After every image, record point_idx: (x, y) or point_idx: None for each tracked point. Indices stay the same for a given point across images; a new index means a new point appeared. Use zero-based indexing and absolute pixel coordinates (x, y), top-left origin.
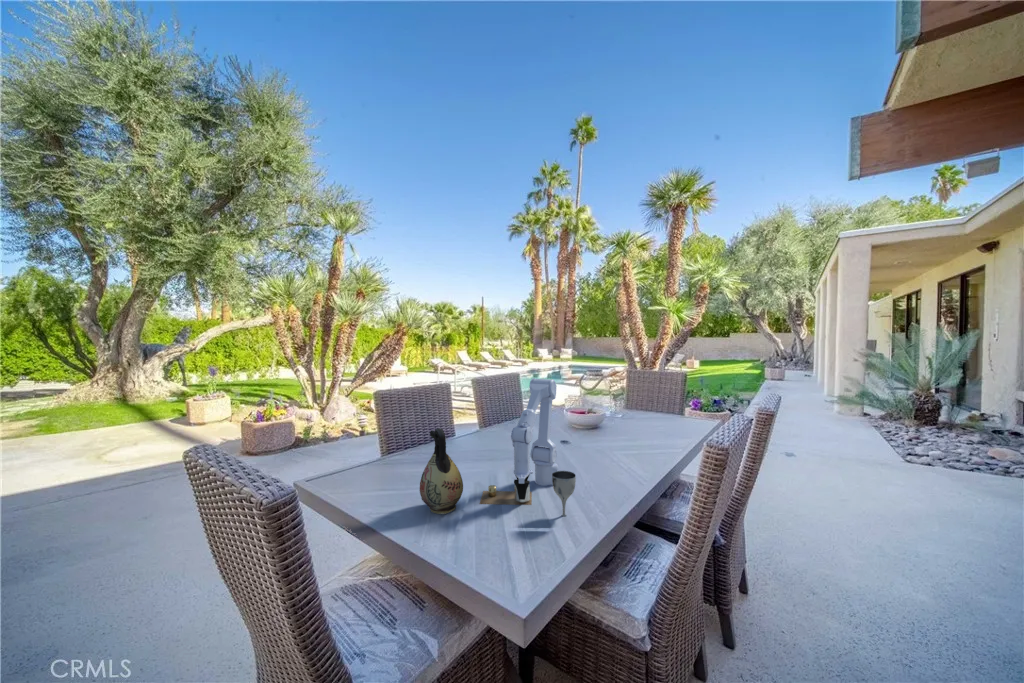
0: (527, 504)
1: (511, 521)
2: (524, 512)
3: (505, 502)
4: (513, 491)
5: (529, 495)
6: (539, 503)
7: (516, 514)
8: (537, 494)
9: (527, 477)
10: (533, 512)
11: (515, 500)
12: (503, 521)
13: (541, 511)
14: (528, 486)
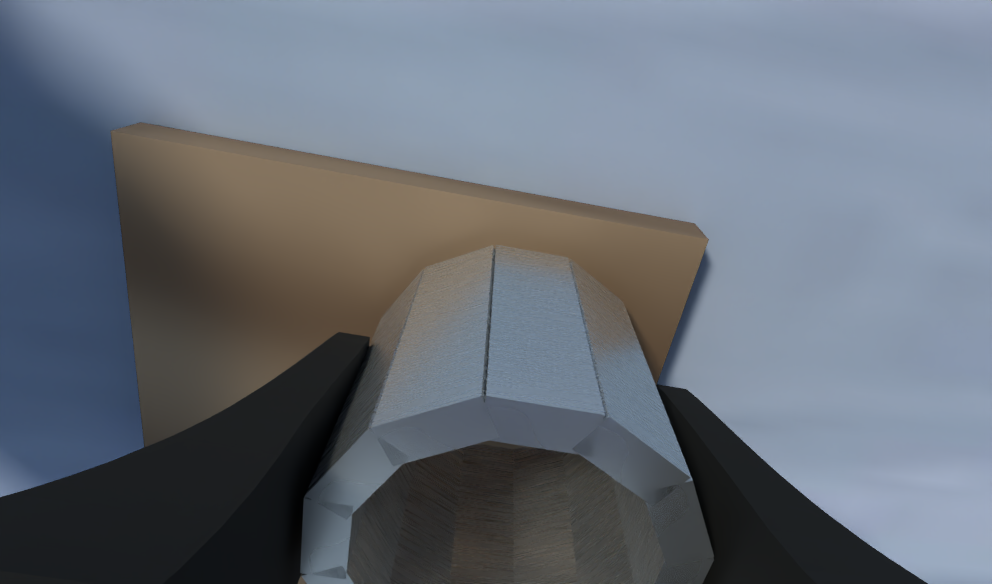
0: (677, 302)
1: (988, 516)
2: (817, 348)
3: None
4: (149, 423)
5: (590, 302)
6: (563, 52)
7: (833, 446)
8: (142, 6)
9: (225, 556)
10: (872, 225)
11: (491, 441)
12: (942, 581)
13: (894, 84)
14: (602, 443)
